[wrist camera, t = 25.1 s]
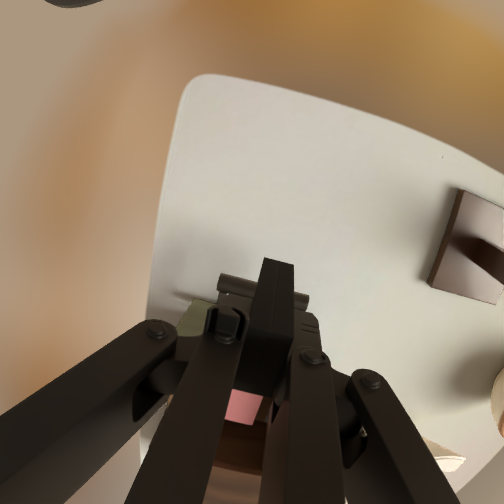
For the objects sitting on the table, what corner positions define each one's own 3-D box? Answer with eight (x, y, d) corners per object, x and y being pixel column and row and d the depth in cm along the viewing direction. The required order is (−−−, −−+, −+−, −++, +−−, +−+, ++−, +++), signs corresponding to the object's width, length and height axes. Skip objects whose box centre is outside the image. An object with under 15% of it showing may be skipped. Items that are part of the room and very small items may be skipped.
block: (220, 347, 31) (209, 378, 27) (268, 359, 31) (264, 392, 26) (213, 381, 33) (202, 413, 28) (257, 393, 33) (252, 425, 28)
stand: (458, 188, 26) (512, 206, 17) (521, 218, 25) (573, 242, 17) (426, 282, 29) (464, 327, 20) (491, 300, 28) (532, 341, 20)
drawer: (203, 245, 29) (170, 284, 21) (334, 279, 29) (349, 329, 21) (179, 397, 36) (156, 449, 28) (277, 421, 35) (272, 478, 27)
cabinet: (177, 383, 36) (148, 446, 26) (285, 410, 36) (281, 479, 26) (170, 448, 41) (150, 501, 31) (256, 470, 41) (247, 526, 31)
